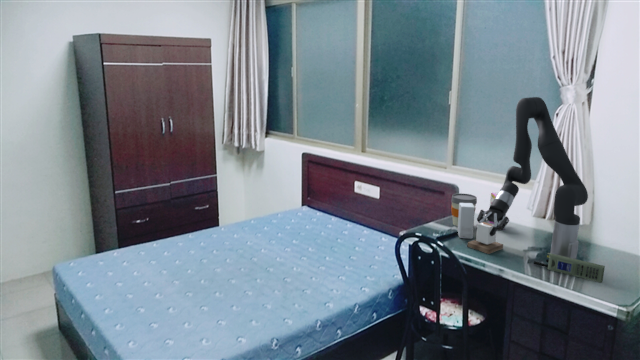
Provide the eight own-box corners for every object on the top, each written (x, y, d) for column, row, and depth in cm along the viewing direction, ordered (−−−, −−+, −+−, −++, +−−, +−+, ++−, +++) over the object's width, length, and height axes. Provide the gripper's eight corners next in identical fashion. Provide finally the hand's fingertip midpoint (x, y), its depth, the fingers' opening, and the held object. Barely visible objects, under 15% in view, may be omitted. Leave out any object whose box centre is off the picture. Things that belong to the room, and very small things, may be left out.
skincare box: (472, 239, 227) (475, 207, 223) (458, 238, 228) (461, 206, 224) (470, 233, 235) (473, 202, 231) (456, 232, 236) (459, 201, 232)
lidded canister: (458, 219, 256) (461, 192, 253) (479, 225, 247) (482, 197, 243) (444, 223, 248) (446, 195, 245) (465, 230, 239) (467, 201, 235)
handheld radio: (601, 284, 182) (532, 266, 197) (602, 281, 185) (534, 264, 200) (604, 267, 181) (534, 251, 196) (605, 265, 183) (536, 249, 198)
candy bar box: (487, 222, 251) (490, 192, 247) (497, 222, 251) (500, 192, 247) (494, 229, 240) (497, 198, 236) (504, 230, 240) (508, 198, 236)
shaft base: (502, 248, 216) (504, 231, 214) (488, 254, 209) (490, 236, 207) (481, 241, 224) (483, 225, 222) (467, 246, 217) (468, 229, 216)
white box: (495, 241, 215) (497, 224, 213) (487, 244, 212) (489, 226, 210) (483, 237, 220) (485, 220, 218) (475, 240, 216) (477, 223, 214)
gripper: (485, 194, 221) (467, 224, 217) (514, 202, 210) (495, 233, 206) (490, 204, 226) (473, 232, 222) (519, 211, 215) (501, 242, 211)
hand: (484, 232), depth 214 cm, fingers closed on white box, 6 cm apart
